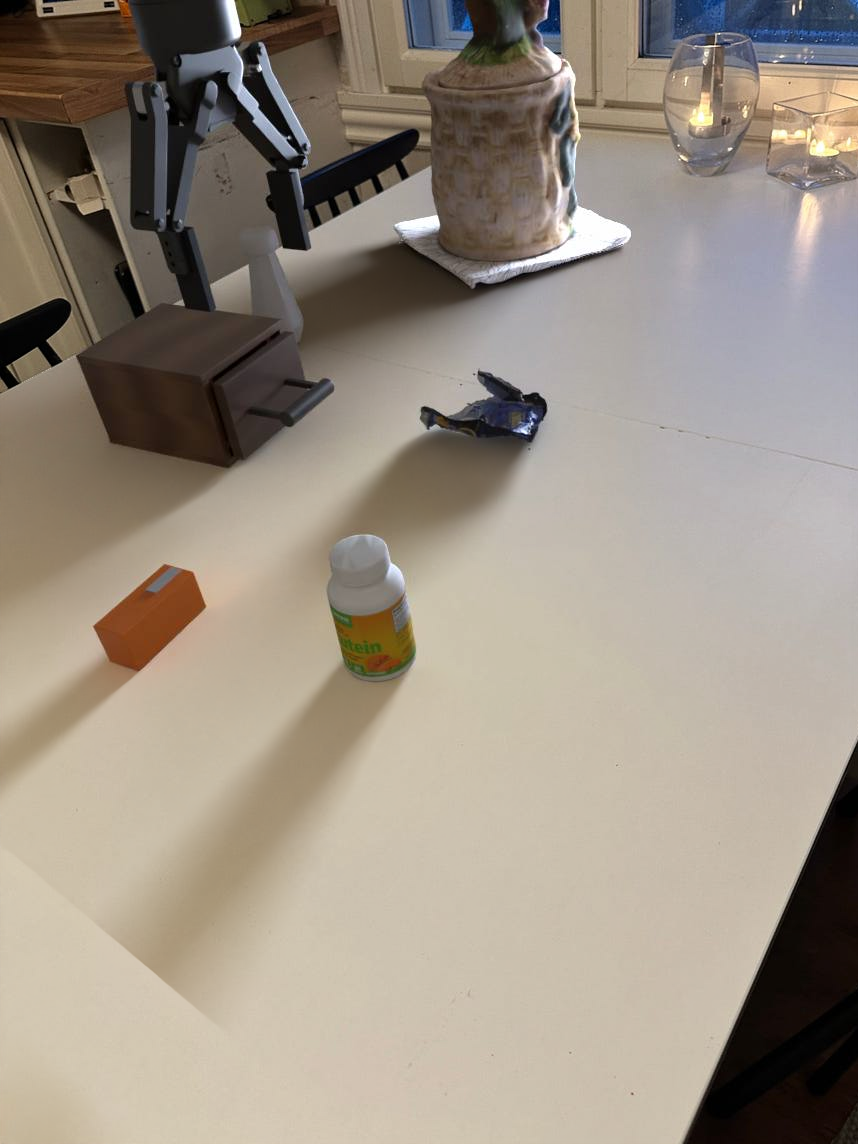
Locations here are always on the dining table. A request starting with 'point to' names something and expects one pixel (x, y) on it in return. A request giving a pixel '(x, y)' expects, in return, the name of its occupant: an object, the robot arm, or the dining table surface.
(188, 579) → the taped cardboard carton
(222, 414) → the drawer
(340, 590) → the supplement bottle
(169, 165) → the robot arm
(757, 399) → the dining table surface
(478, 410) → the snack package
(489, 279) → the cookie jar
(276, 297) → the salt shaker
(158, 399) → the cabinet
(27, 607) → the dining table surface
